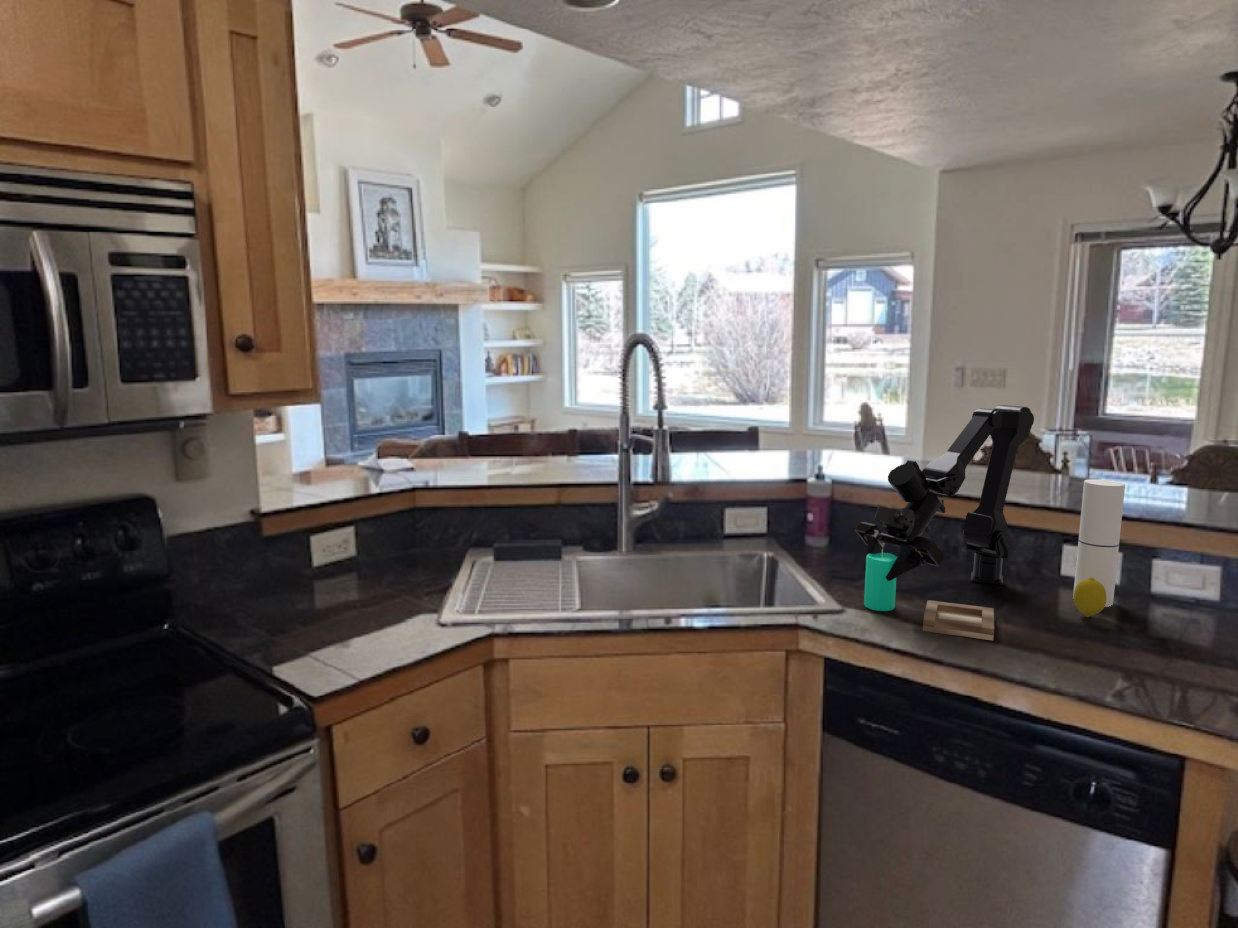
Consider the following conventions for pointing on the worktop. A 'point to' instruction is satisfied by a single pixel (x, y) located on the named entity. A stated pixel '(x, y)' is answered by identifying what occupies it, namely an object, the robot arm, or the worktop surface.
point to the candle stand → (959, 620)
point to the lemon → (1089, 597)
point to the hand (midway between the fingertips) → (876, 575)
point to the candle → (879, 582)
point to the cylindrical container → (1100, 533)
